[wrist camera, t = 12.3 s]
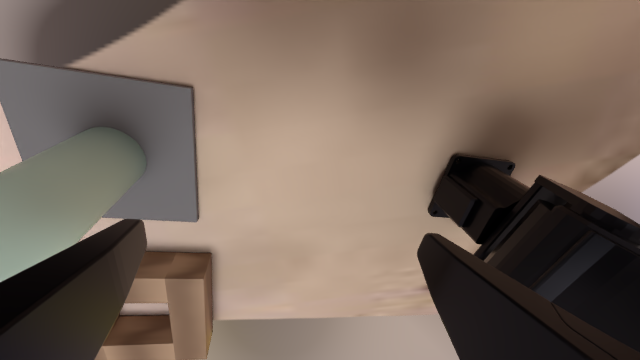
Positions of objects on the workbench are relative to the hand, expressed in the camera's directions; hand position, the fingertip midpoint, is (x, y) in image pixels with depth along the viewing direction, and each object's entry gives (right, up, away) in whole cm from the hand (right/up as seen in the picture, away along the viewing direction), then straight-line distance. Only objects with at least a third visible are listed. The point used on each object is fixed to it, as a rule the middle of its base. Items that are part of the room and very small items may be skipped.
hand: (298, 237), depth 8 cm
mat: (-14, +4, +11) cm, 18 cm away
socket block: (-17, -10, +18) cm, 26 cm away
